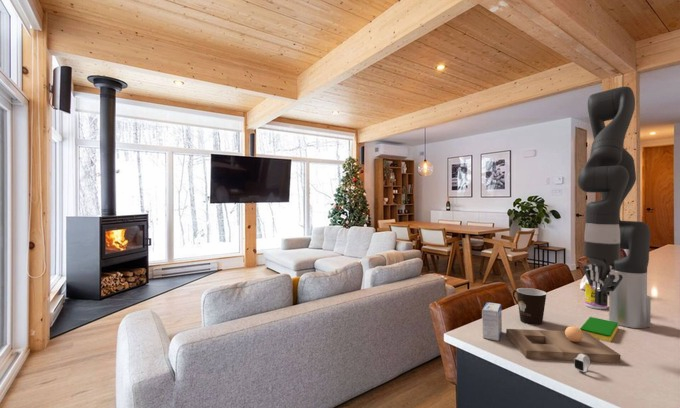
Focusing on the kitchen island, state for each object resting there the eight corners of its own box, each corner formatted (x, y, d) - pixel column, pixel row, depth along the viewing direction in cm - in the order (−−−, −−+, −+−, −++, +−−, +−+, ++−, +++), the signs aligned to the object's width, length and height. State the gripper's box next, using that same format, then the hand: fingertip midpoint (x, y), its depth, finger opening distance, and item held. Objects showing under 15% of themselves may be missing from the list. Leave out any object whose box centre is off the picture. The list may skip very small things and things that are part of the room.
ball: (577, 338, 91) (577, 324, 91) (586, 344, 87) (586, 330, 87) (562, 337, 92) (562, 323, 92) (570, 344, 88) (570, 329, 88)
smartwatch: (582, 367, 80) (581, 350, 80) (592, 371, 78) (592, 354, 78) (573, 371, 78) (573, 354, 78) (584, 375, 76) (583, 358, 76)
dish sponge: (579, 336, 99) (579, 328, 98) (590, 323, 108) (590, 316, 108) (610, 343, 93) (610, 335, 93) (618, 330, 103) (618, 322, 103)
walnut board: (586, 338, 96) (586, 331, 96) (620, 362, 82) (620, 354, 82) (506, 335, 99) (506, 328, 99) (526, 358, 85) (526, 350, 85)
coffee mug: (551, 327, 104) (551, 296, 104) (521, 325, 106) (521, 294, 106) (536, 314, 116) (536, 286, 115) (510, 313, 117) (510, 285, 117)
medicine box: (498, 341, 95) (498, 311, 94) (482, 338, 97) (482, 309, 97) (501, 331, 101) (501, 303, 101) (486, 328, 104) (486, 301, 104)
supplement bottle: (588, 308, 121) (588, 273, 121) (582, 303, 127) (582, 270, 127) (610, 310, 118) (610, 275, 118) (603, 305, 124) (604, 271, 124)
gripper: (635, 244, 81) (634, 313, 81) (601, 237, 94) (600, 298, 94) (602, 243, 82) (601, 312, 82) (572, 237, 95) (572, 296, 96)
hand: (600, 304), depth 89 cm, fingers closed
